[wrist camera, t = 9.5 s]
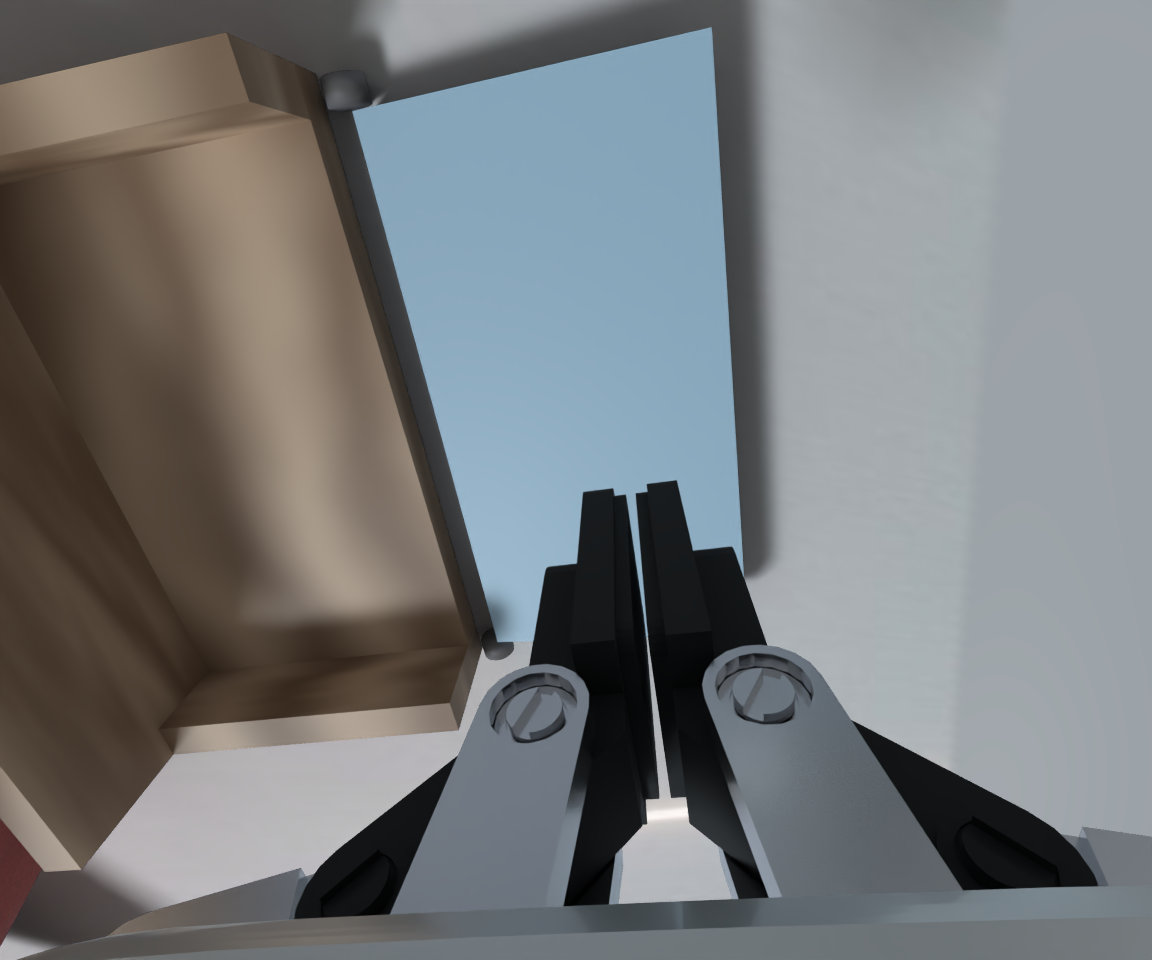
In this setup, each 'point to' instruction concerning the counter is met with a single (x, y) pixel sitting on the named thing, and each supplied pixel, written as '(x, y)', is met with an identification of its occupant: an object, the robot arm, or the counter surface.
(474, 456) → the panel
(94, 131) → the box
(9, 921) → the plant pot
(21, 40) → the counter surface
